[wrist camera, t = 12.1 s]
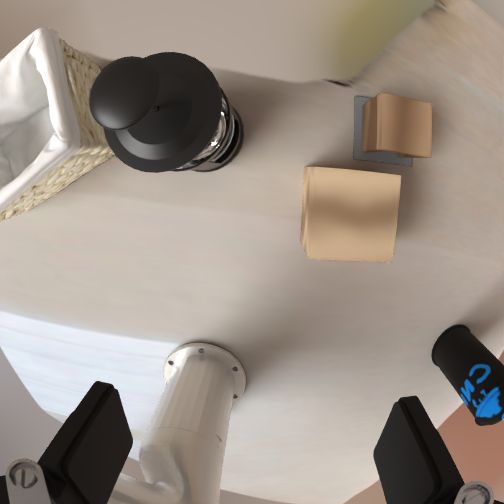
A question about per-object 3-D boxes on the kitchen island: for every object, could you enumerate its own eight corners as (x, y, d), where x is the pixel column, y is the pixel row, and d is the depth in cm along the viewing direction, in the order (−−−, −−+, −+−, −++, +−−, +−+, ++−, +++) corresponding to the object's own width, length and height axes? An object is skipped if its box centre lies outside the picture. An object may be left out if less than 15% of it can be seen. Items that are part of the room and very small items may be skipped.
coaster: (410, 166, 35) (411, 166, 34) (353, 158, 35) (354, 158, 35) (411, 107, 33) (412, 106, 32) (354, 96, 33) (355, 96, 33)
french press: (232, 84, 33) (186, -17, 11) (260, 152, 35) (251, 125, 13) (146, 123, 35) (20, 87, 13) (172, 189, 37) (58, 221, 15)
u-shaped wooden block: (405, 112, 33) (431, 104, 26) (404, 158, 34) (431, 157, 27) (362, 105, 33) (382, 92, 26) (361, 151, 34) (381, 148, 28)
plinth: (369, 244, 38) (391, 262, 30) (300, 240, 38) (308, 259, 30) (375, 173, 35) (401, 175, 28) (304, 167, 36) (314, 166, 28)
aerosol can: (476, 325, 40) (545, 391, 21) (458, 366, 42) (513, 439, 23) (442, 322, 40) (513, 399, 21) (423, 366, 42) (477, 450, 23)
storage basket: (22, 221, 39) (-43, 244, 25) (-1, 136, 36) (-64, 137, 21) (137, 151, 36) (72, 146, 22) (105, 53, 32) (44, 18, 18)
